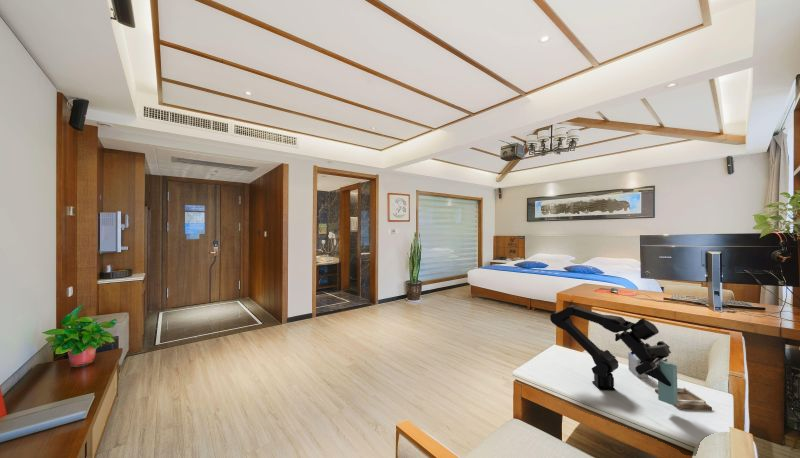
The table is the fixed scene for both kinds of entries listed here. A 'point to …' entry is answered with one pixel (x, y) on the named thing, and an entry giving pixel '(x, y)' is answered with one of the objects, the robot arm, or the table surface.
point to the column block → (670, 372)
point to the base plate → (689, 400)
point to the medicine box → (634, 365)
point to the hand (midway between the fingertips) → (672, 383)
